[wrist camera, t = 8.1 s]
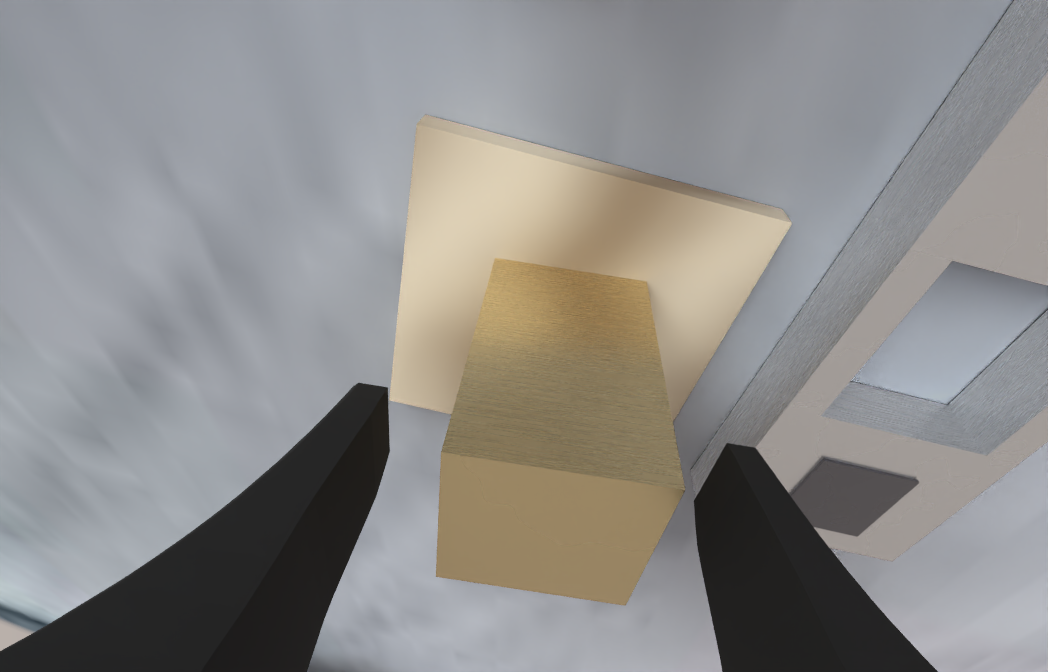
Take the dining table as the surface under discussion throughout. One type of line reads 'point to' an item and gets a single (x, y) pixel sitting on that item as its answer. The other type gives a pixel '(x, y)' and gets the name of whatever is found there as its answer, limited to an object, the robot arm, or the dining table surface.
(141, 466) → the dining table surface
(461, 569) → the brass peg
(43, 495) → the dining table surface
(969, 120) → the grey peg hole board
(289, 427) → the dining table surface
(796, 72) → the dining table surface
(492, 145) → the birch pad
